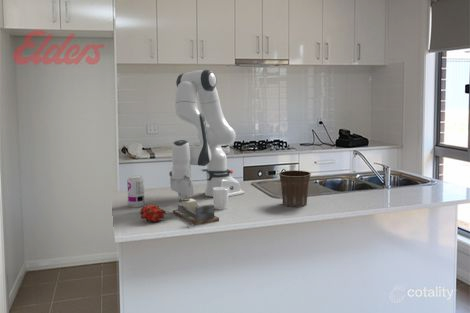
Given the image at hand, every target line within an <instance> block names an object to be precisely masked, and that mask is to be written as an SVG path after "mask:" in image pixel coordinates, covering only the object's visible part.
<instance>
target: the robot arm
mask: <svg viewBox="0 0 470 313" xmlns="http://www.w3.org/2000/svg"><path fill="white" fill-rule="evenodd" d="M217 81H218V80H217V75H216V74H215V73H214V71H213V70H209V69H204V70H193V71H190V72H183V73H181V74H179V75H178V76H177V79H176V83H175V84H176V92H175V103H174V106H175V107H174V109H175V110H174V111H175V114H176V116H177V117H178V118H179V119H180V120H182V121H184V122H186V123H189V124H191V125H193V126H195V127H196V129H197V138H198V140H199V145H190V144H189V143H190V142H189V141H188V140H185V139H180V140H175V141H174V142H173V143H172V148H171V162H172V168H171V170H170V171H169V172H168V174H169V182H170V183H169V184H170V188H171V190H172V191H174V192H175V193H177V194H178V199H179V200H178V201H180V200H184V199H187V197H188V198H189V197H194V194H195V193H194V192H195V190H194V182H193V180H191V178H192V174H191V171H192V169H191V167H192V166H201V167H205V166H206V173H205V174H206V187H205V192H204V195H205V196H207V197H211V198H212V197H213V188H215V187H228V188H229V196H228V198H229V197H233V196H238V195H242V194H243V195H244V194H245V190H243V189H241V184H240V182H239V181H238V180H237V179H236V178H234V177H233V176H231V175H232V174H234V171H233V170H232V169H228V163H227V162H228V157H227V154H226V153H225V152H224V150H223V148H222V146H223V147H224V146H231V145H233V143H234V142H235V140H236V137H237V135H236V131H235V129H234V128H233V127H231V125H230V124H229V123H228V121H227V120H226V118H225V115H224V113H223V110H222V106H221V100H220V97H219V93H218V90H217V86H216V85H217ZM198 103H199V107H200V110H199V107H198ZM206 123H207V124H206Z"/></svg>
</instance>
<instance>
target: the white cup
mask: <svg viewBox="0 0 470 313" xmlns="http://www.w3.org/2000/svg"><path fill="white" fill-rule="evenodd" d="M228 196H229V188H228V187H215V188H213V205H214V210H219V211H220V210H227V209H229V197H230V196H229V197H228Z"/></svg>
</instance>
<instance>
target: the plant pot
mask: <svg viewBox="0 0 470 313" xmlns="http://www.w3.org/2000/svg"><path fill="white" fill-rule="evenodd" d="M311 175H312V173H311V172H310V171H305V170H295V169H294V170H284V171H280V172H278V176H279V182H280V186H281V187H280V188H281V197H282V198H281V199H282V205H283V204H284V205H283V206H285V205H287V206H286V207H290V206H294V207H297V206H302V207H304V205H305V206H306V205H307V204H308V196H309V194H308V193H309V182H310V179H311Z"/></svg>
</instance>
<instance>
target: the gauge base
mask: <svg viewBox="0 0 470 313" xmlns="http://www.w3.org/2000/svg"><path fill="white" fill-rule="evenodd" d="M172 213H173V215H176V216H177V217H179V218H181V219H183V220H184V221H187V222H188V223H190V224H191V225H193V226H198V225H205V224H210V223H217V222H220V217H218V216H216V215H215V208H214V203H212V204H211V203H210V204H204V205H198V204H197V206H196V212H193V211H191V210H189V209H187V208H185V207H183V206H182V204H177V209H174V210H172Z"/></svg>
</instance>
